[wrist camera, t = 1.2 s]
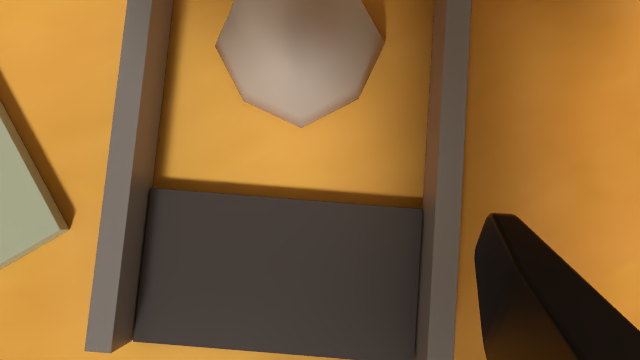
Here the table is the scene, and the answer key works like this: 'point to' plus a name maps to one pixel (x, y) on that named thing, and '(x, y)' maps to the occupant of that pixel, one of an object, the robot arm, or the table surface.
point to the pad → (23, 199)
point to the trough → (277, 235)
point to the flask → (299, 54)
